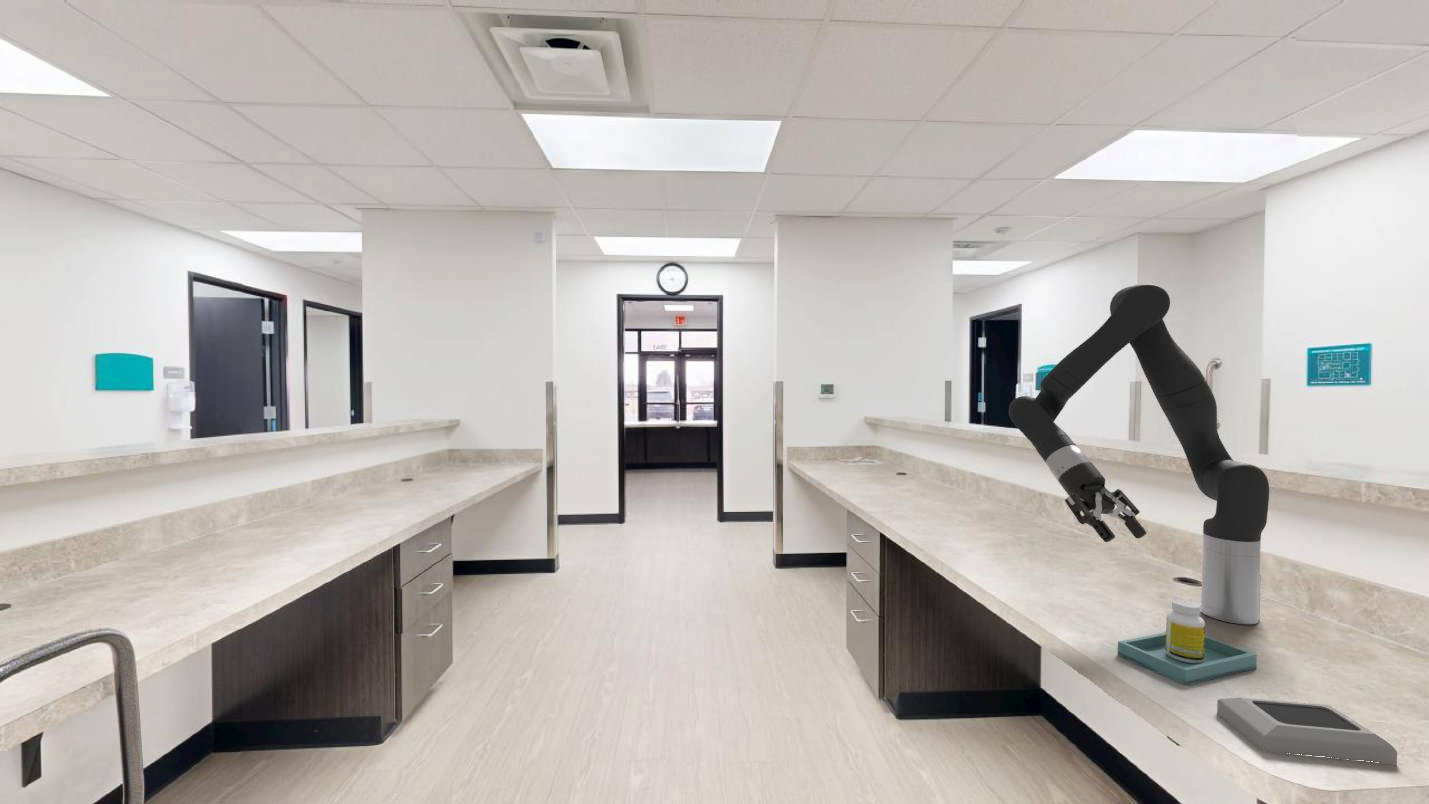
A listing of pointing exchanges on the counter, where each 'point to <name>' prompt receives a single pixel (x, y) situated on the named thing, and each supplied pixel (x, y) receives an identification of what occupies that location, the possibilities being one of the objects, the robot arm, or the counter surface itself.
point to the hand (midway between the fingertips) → (1126, 538)
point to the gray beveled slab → (1304, 730)
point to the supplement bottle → (1185, 632)
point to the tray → (1216, 662)
